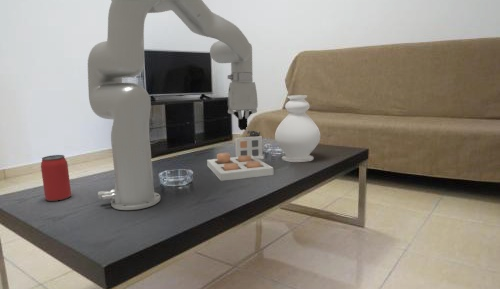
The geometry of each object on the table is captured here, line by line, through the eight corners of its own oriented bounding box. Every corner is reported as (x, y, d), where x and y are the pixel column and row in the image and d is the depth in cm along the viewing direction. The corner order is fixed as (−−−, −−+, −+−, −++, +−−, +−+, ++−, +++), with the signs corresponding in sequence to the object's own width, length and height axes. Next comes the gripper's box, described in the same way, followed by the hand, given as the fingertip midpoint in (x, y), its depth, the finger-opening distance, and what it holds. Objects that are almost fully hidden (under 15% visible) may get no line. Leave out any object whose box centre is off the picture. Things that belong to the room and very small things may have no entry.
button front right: (249, 173, 120) (248, 164, 120) (244, 170, 125) (244, 161, 124) (262, 172, 121) (262, 163, 121) (257, 168, 126) (257, 160, 125)
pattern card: (237, 161, 140) (236, 139, 138) (234, 159, 144) (234, 137, 142) (263, 159, 143) (263, 137, 142) (260, 157, 147) (260, 135, 145)
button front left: (226, 175, 118) (225, 166, 117) (222, 172, 122) (222, 163, 122) (240, 174, 119) (239, 165, 119) (236, 170, 124) (235, 162, 123)
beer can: (53, 203, 97) (47, 160, 95) (40, 199, 100) (34, 158, 98) (76, 196, 102) (71, 155, 100) (63, 193, 106) (58, 153, 104)
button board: (221, 181, 114) (220, 173, 113) (207, 166, 134) (207, 159, 134) (273, 174, 119) (273, 167, 119) (252, 161, 140) (252, 155, 139)
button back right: (240, 166, 129) (240, 158, 129) (236, 163, 134) (236, 156, 133) (253, 165, 131) (252, 157, 130) (249, 162, 135) (248, 154, 135)
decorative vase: (299, 166, 130) (299, 97, 125) (266, 159, 143) (264, 96, 139) (329, 158, 141) (330, 94, 137) (295, 152, 155) (295, 94, 150)
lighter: (264, 153, 155) (264, 130, 153) (260, 154, 152) (260, 131, 150) (248, 151, 159) (248, 129, 157) (244, 153, 156) (244, 130, 154)
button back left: (218, 164, 127) (218, 155, 126) (215, 161, 131) (215, 153, 131) (231, 162, 128) (231, 154, 128) (228, 160, 133) (228, 152, 132)
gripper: (224, 78, 121) (225, 131, 124) (265, 78, 125) (265, 129, 128) (219, 78, 128) (220, 129, 131) (258, 78, 132) (258, 127, 135)
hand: (242, 129), depth 130 cm, fingers closed
